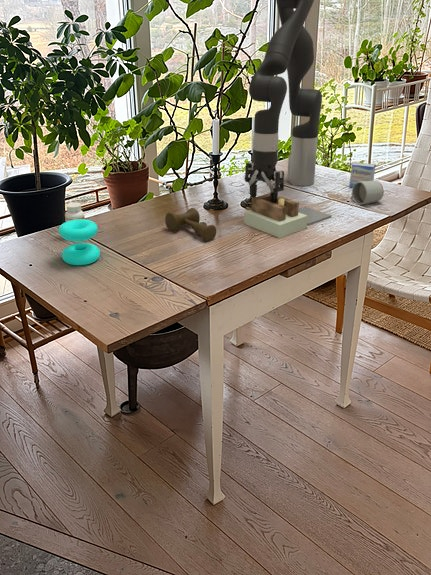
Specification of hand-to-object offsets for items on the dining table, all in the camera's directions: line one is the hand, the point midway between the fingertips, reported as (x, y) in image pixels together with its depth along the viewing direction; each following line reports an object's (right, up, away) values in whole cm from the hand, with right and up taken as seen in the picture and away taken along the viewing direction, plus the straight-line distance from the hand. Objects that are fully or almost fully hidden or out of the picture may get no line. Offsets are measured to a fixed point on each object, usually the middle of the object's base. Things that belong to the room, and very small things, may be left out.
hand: (263, 200), depth 179 cm
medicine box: (+38, +9, +33) cm, 52 cm away
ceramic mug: (+36, +2, +20) cm, 41 cm away
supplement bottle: (-55, -12, -8) cm, 57 cm away
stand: (+4, -8, 0) cm, 9 cm away
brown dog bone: (-22, -10, -4) cm, 25 cm away
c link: (+3, -4, -2) cm, 6 cm away
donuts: (-51, -19, -22) cm, 58 cm away
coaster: (+15, -4, +7) cm, 17 cm away
